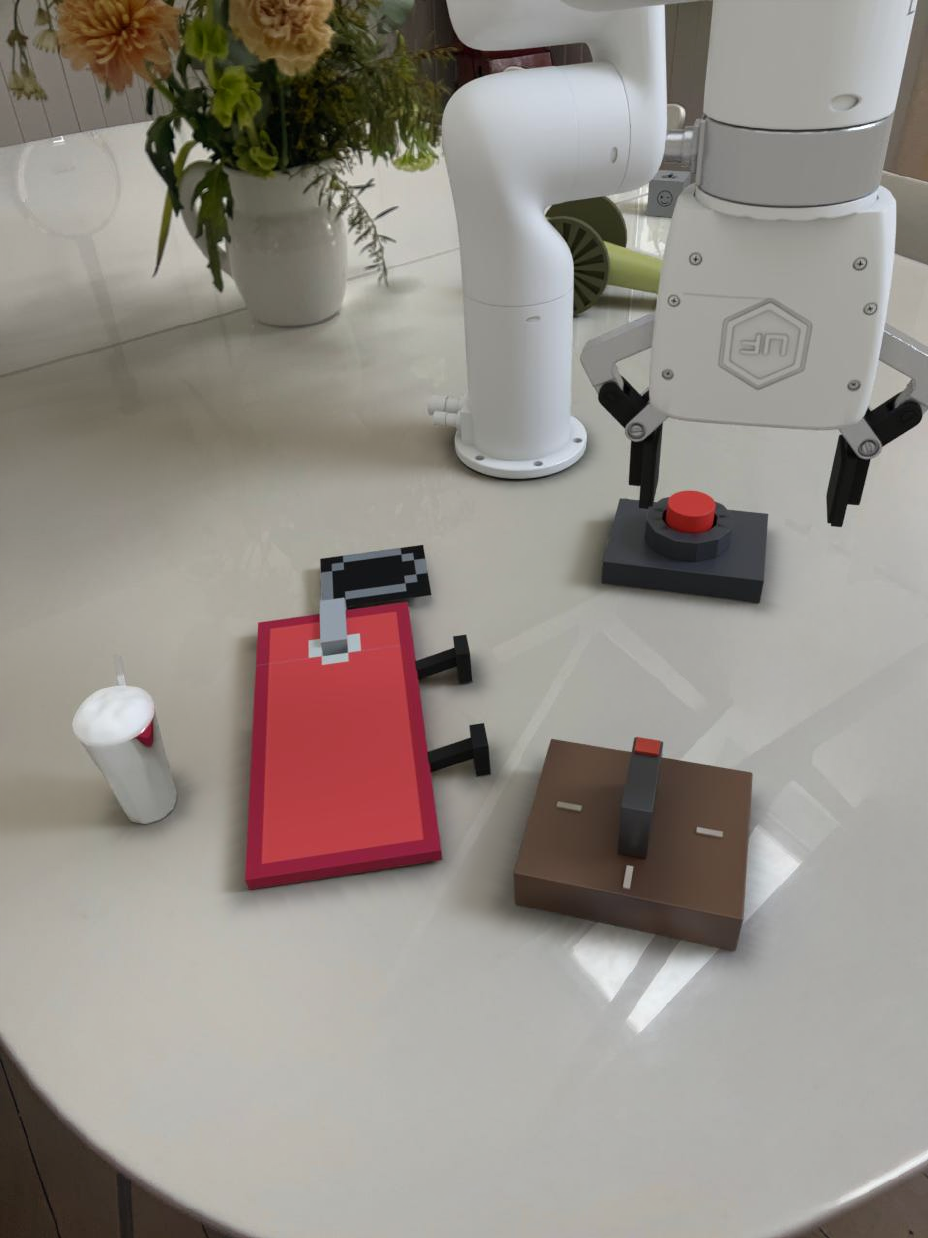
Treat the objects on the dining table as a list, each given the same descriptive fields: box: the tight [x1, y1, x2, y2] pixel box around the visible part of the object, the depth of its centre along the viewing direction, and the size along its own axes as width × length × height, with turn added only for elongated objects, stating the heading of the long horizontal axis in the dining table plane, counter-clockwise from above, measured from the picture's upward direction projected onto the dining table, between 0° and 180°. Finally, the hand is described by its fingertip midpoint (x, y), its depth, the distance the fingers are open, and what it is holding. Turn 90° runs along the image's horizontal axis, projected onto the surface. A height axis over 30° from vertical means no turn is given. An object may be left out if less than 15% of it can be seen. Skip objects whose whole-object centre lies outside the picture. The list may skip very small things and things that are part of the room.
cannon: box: [544, 196, 663, 316], centre depth 112 cm, size 25×12×11 cm, turn 71°
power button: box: [666, 490, 716, 534], centre depth 73 cm, size 4×4×2 cm
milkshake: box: [71, 653, 178, 825], centre depth 57 cm, size 4×5×10 cm
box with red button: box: [617, 736, 664, 858], centre depth 51 cm, size 5×2×4 cm, turn 164°
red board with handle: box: [244, 544, 492, 890], centre depth 65 cm, size 30×3×15 cm
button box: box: [600, 496, 769, 604], centre depth 75 cm, size 12×9×4 cm
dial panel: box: [513, 738, 754, 952], centre depth 54 cm, size 12×10×3 cm
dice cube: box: [646, 169, 692, 218], centre depth 139 cm, size 5×5×5 cm
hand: (738, 503), depth 51 cm, fingers open, 9 cm apart
